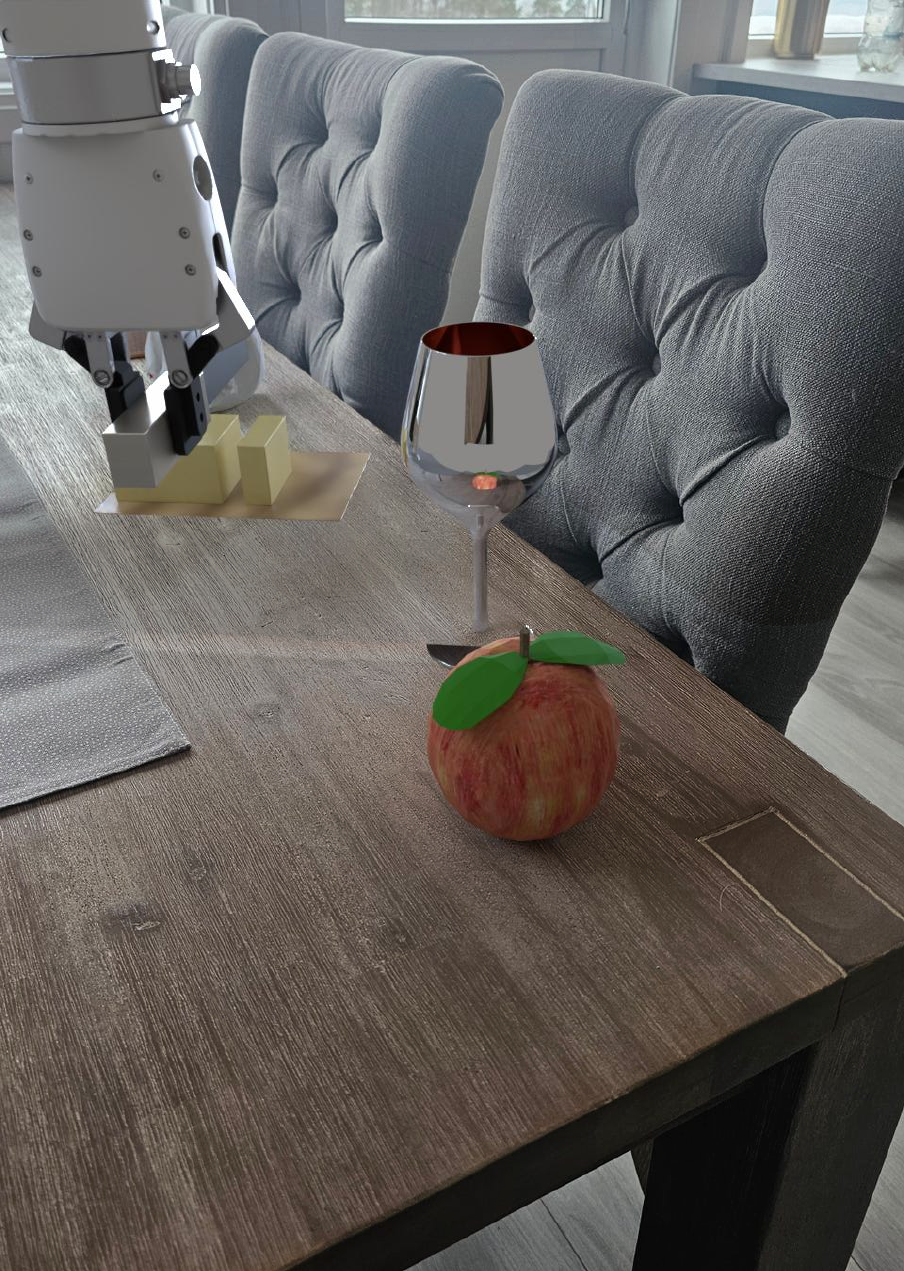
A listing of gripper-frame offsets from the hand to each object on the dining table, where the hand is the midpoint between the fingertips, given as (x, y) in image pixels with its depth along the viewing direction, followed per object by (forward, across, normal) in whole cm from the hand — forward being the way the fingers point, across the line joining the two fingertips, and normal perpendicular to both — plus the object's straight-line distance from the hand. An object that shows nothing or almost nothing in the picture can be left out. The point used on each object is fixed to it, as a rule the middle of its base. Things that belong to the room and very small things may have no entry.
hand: (164, 444), depth 62 cm
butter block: (+9, +5, -14) cm, 17 cm away
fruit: (+11, -22, +18) cm, 31 cm away
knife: (0, 0, -6) cm, 6 cm away
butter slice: (+9, -1, -14) cm, 17 cm away
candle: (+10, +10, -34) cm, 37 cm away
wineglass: (+11, -19, +4) cm, 22 cm away
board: (+10, +1, -15) cm, 18 cm away
